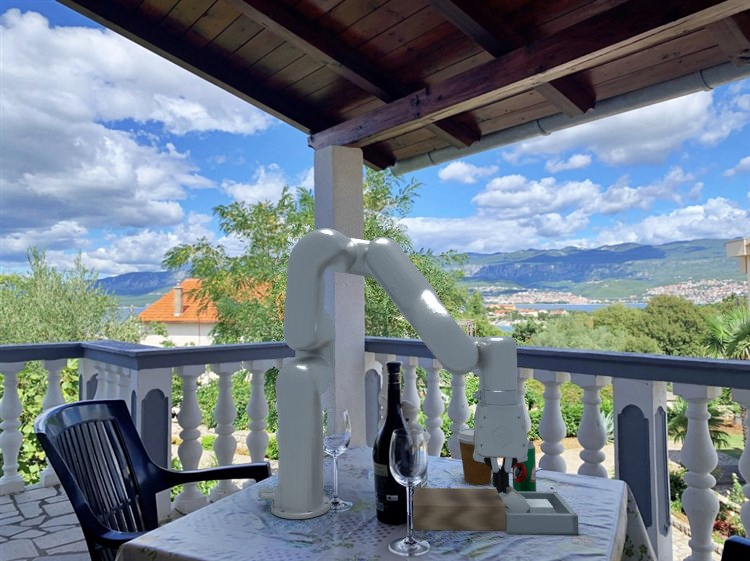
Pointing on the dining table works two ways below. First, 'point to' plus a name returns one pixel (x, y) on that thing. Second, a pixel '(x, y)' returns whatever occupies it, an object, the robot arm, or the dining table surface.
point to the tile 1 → (514, 500)
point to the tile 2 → (539, 506)
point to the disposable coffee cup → (472, 460)
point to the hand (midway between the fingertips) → (501, 490)
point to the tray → (543, 517)
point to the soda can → (526, 472)
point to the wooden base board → (458, 509)
